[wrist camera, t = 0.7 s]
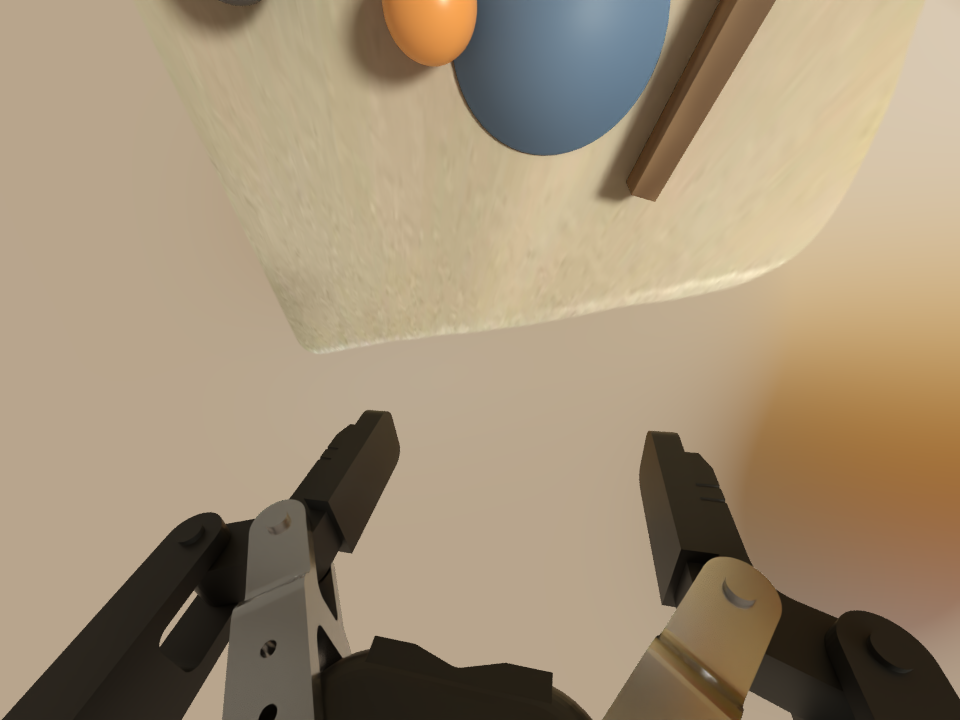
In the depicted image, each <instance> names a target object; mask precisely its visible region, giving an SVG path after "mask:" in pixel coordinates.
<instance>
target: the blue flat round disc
mask: <svg viewBox="0 0 960 720" xmlns="http://www.w3.org/2000/svg"><path fill="white" fill-rule="evenodd" d="M669 9H670V0H477V17H476V24H475V28H474V31H473V34H472V37H471V39H470V42H469V44H468V45H467V47H466V48H465V50H464V51H463V52H462V53H461V54H460V55H459V56H458V57H457V58H456V59H454V60H453V61H454V66H455V70H456V75H457V78H458V81H459V84H460V87H461V90H462V93H463V95H464V97H465V99H466V101H467V104H468V106H469V107H470V109H471V110H472V112H473V114H474V115H475V117H476V118H477V119H478V121H479V122H480V123H481V124H482V126H483V127H484V128H485V129H486V130H487V131H488V132H489V133H490V134H491V135H492V136H494V137H495V138H496V139H498V140H499V141H501V142H502V143H504V144H506V145H507V146H509V147H511V148H513V149H516V150H519V151H521V152H525V153H529V154H534V155H557V154H562V153H567V152H570V151H573V150H576V149H579V148H582V147H584V146H586V145H588V144H590V143H592V142H593V141H595V140H596V139H598V138H600V137H601V136H603V135H604V134H605V133H607V132H608V131H609V130H610V129H611V128H613V127H614V126H615V125H616V124H617V123H618V122H619V121H620V120H621V119H622V118H623V117H624V116H625V115H626V114H627V112H628V111H629V110H630V109H631V107H632V106H633V105H634V104H635V102H636V101H637V99H638V98H639V96H640V95H641V93H642V92H643V90H644V89H645V87H646V85H647V83H648V81H649V79H650V77H651V75H652V73H653V71H654V68H655V66H656V64H657V61H658V59H659V56H660V53H661V49H662V46H663V43H664V40H665V35H666V30H667V25H668V19H669Z"/></svg>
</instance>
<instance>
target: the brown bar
mask: <svg viewBox="0 0 960 720" xmlns="http://www.w3.org/2000/svg"><path fill="white" fill-rule="evenodd" d="M775 1H776V0H720V2H719V4H718V6H717V8H716V10H715V12H714V14H713V16H712V18H711V20H710V22H709V24H708V25H707V27H706V29H705V31H704V33H703V35H702V37H701V39H700V41H699V43H698V45H697V47H696V49H695V50H694V52H693V54H692V56H691V58H690V60H689V62H688V64H687V66H686V68H685V70H684V72H683V74H682V76H681V77H680V79H679V81H678V83H677V85H676V87H675V89H674V91H673V93H672V95H671V97H670V99H669V101H668V102H667V104H666V106H665V108H664V110H663V112H662V114H661V116H660V118H659V120H658V122H657V124H656V126H655V127H654V129H653V131H652V133H651V135H650V137H649V139H648V141H647V143H646V145H645V147H644V149H643V151H642V152H641V154H640V156H639V158H638V160H637V162H636V164H635V166H634V168H633V170H632V172H631V174H630V176H629V177H628V179H627V181H626V182H627V185H628V187H629V190H630V192H631V195H634V196H637V197H640V198H644V199H647V200H651V201H654V202H655V201H656V199H657V198H658V196H659V194H660V193H661V191H662V189H663V188H664V186H665V184H666V183H667V181H668V179H669V178H670V176H671V174H672V173H673V171H674V169H675V168H676V166H677V164H678V163H679V161H680V159H681V158H682V156H683V154H684V153H685V151H686V149H687V148H688V146H689V144H690V143H691V141H692V139H693V138H694V136H695V134H696V133H697V131H698V129H699V128H700V126H701V124H702V123H703V121H704V119H705V118H706V116H707V114H708V113H709V111H710V109H711V107H712V106H713V104H714V102H715V101H716V99H717V97H718V96H719V94H720V92H721V91H722V89H723V87H724V86H725V84H726V82H727V81H728V79H729V77H730V76H731V74H732V72H733V71H734V69H735V67H736V66H737V64H738V62H739V61H740V59H741V57H742V56H743V54H744V52H745V51H746V49H747V47H748V46H749V44H750V42H751V41H752V39H753V37H754V36H755V34H756V32H757V31H758V29H759V27H760V26H761V24H762V22H763V21H764V19H765V17H766V16H767V14H768V12H769V11H770V9H771V7H772V6H773V4H774V2H775Z"/></svg>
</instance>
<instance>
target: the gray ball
mask: <svg viewBox="0 0 960 720" xmlns="http://www.w3.org/2000/svg"><path fill="white" fill-rule="evenodd" d="M219 1H222V2H224V3H227V4H231V5H235V6H247V5H252V4H255V3H257V2H259V1H261V0H219Z"/></svg>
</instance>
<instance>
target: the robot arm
mask: <svg viewBox="0 0 960 720" xmlns="http://www.w3.org/2000/svg"><path fill="white" fill-rule="evenodd" d="M399 454H400V445H399V441H398V437H397V434H396V430H395V426H394V423H393V419H392V415H391V413H389V412H386V411H373V410H367V411H365V412H364V413H363V414H362V415H361V417H360V418H359V420H358V421H357V423H356V424H355V425H353V424H350V425H349V426H347V427H346V428H345V429H343V430H342V431H341V432H339V433H338V434H337V435H336V436H335V438H334V439H333V440H332V442H331V443H330V444H329V446H328V449H326V450H325V451H324V453H323V454H322V456H321V457H320V460H318V461H317V462H316V463H315V465H314V466H313V468H312V469H311V470H310V472H309V473H308V474H307V476H306V477H305V479H304V480H303V481H302V483H301V484H300V485H299V487H298V488H297V490H296V491H295V492H294V493H293V495H292V496H291V497H290V499H289V500H282V501H279V502H277V503H274V504H272V505H271V506H269V507H267V508H266V509H265V510H263V511H262V512H261V513H260V514H259V515H258V516H257V517H256V519H252V520H246V521H241V522H234V523H229V524H225V523H224V521H223V520H222V518H221V517H220V516H219V515H218V514H216V513H211V512H210V513H202V514H198V515H196V516H193V517H191V518H189V519H187V520H186V521H184V522H182V523H181V524H179V525H178V526H177V527H176V528H175V529H173V530H172V531H171V532H170V533H169V535H168V536H167V537H166V538H165V539H164V540H163V541H162V542H161V543H160V545H159V546H158V547H157V548H156V549H155V550H154V551H153V552H152V553H151V555H150V556H149V557H148V558H147V559H146V560H145V561H144V562H143V563H142V565H141V566H140V567H139V568H138V569H137V570H136V571H135V572H134V574H133V575H132V576H131V577H130V578H129V579H128V580H127V581H126V582H125V584H124V585H123V586H122V587H121V588H120V589H119V590H118V591H117V592H116V593H115V595H114V596H113V597H112V598H111V599H110V600H109V601H108V603H106V605H105V606H104V607H103V608H102V609H101V610H100V611H99V612H98V613H97V615H96V616H95V617H94V618H93V619H92V620H91V621H90V622H89V623H88V625H87V626H86V627H85V628H84V629H83V630H82V631H81V632H80V633H79V635H78V636H77V637H76V638H75V639H74V640H73V641H72V642H71V643H70V645H69V646H68V647H67V648H66V649H65V650H64V651H63V652H62V654H61V655H60V656H59V657H58V658H57V659H56V660H55V661H54V662H53V664H52V665H51V666H50V667H49V668H48V669H47V670H46V671H45V672H44V673H43V675H42V676H41V677H40V678H39V679H38V680H37V681H36V682H35V683H34V685H33V686H32V687H31V688H30V689H29V690H28V691H27V692H26V693H25V695H24V696H23V697H22V698H21V699H20V700H19V701H18V702H17V703H16V705H15V706H14V707H13V708H12V709H11V710H10V711H9V712H8V713H7V715H6V716H5V717H4V718H3V719H2V720H182V718H183V716H184V715H185V713H186V711H187V710H188V708H189V706H190V705H191V703H192V701H193V700H194V698H195V696H196V695H197V693H198V692H199V690H200V688H201V687H202V685H203V683H204V682H205V680H206V678H207V676H208V675H209V673H210V671H211V670H212V668H213V667H214V665H215V663H216V662H217V660H218V658H219V657H220V655H221V653H222V652H223V650H224V648H225V647H226V645H227V643H228V642H229V648H228V659H227V671H226V682H225V694H224V705H223V717H222V720H592V719H591V718H590V716H589V715H588V714H587V713H586V712H585V710H583V709H582V708H581V707H580V706H579V705H578V704H577V703H576V702H575V701H574V700H572V699H571V698H570V697H569V696H567V695H566V694H565V693H563V692H562V691H560V690H558V689H556V688H555V687H553V686H552V677H553V673H551V672H546V671H542V670H537V669H532V668H527V667H523V666H518V665H513V664H508V663H501V664H491V665H482V666H473V667H464V668H457V667H454V666H451V665H450V664H448V663H446V662H445V661H443V660H441V659H440V658H438V657H436V656H435V655H433V654H431V653H429V652H428V651H426V650H424V649H423V648H421V647H420V646H418V645H416V644H413V643H408V642H403V641H398V640H394V639H388V638H384V637H379V636H375V637H374V640H373V643H372V645H371V648H370V649H368V650H364V651H360V652H356V653H354V654H351V650H350V647H349V643H348V640H347V638H346V634H345V631H344V627H343V621H342V614H341V608H340V600H339V594H338V587H337V581H336V574H335V567H334V563H333V560H334V558H335V556H336V554H337V552H338V551H340V552H346V553H352V552H353V550H354V548H355V546H356V544H357V542H358V540H359V538H360V536H361V534H362V532H363V530H364V528H365V526H366V524H367V522H368V520H369V518H370V516H371V514H372V512H373V510H374V508H375V506H376V504H377V502H378V500H379V498H380V496H381V494H382V492H383V490H384V488H385V486H386V484H387V482H388V480H389V478H390V476H391V474H392V472H393V470H394V468H395V466H396V464H397V462H398V458H399ZM639 481H640V490H641V496H642V501H643V506H644V512H645V517H646V522H647V528H648V533H649V538H650V544H651V549H652V555H653V560H654V565H655V571H656V576H657V581H658V586H659V592H660V597H661V603H662V605H666V606H672V607H676V611H675V612H674V614H673V615H672V617H671V619H670V620H669V622H668V623H667V625H666V627H665V628H664V630H663V631H662V633H661V634H660V635H659V636H657V637H656V638H655V639H654V640H653V641H652V643H651V645H650V646H649V647H648V649H647V650H646V652H645V653H644V655H643V657H642V658H641V660H640V661H639V663H638V664H637V666H636V668H635V669H634V671H633V672H632V674H631V675H630V677H629V679H628V680H627V682H626V683H625V685H624V687H623V688H622V690H621V691H620V693H619V694H618V696H617V698H616V699H615V701H614V702H613V704H612V705H611V707H610V708H609V710H608V712H607V713H606V715H605V716H604V718H603V720H741V718H742V715H743V711H744V710H743V704H744V701H745V698H746V696H747V693H748V691H751V692H753V693H755V694H757V695H758V696H760V697H762V698H764V699H766V700H768V701H770V702H771V703H774V704H775V705H777V706H779V707H781V708H783V709H785V710H787V711H788V712H790V713H791V714H792V717H793V720H960V699H959V697H958V695H957V694H956V692H955V691H954V689H953V687H952V686H951V684H950V683H949V681H948V679H947V678H946V676H945V674H944V673H943V671H942V669H941V668H940V666H939V665H938V663H937V662H936V660H935V659H934V657H933V656H932V655H931V654H930V652H929V651H928V650H927V649H926V648H925V647H924V646H923V645H922V644H921V643H920V642H919V641H918V640H917V639H916V638H914V637H913V636H912V635H911V634H910V633H908V632H907V631H906V630H904V629H903V628H901V627H900V626H898V625H897V624H895V623H893V622H891V621H890V620H888V619H885V618H884V617H881V616H879V615H876V614H873V613H870V612H866V611H849V612H846V613H844V614H843V615H841V616H840V617H839V618H836V617H833V616H831V615H829V614H826V613H824V612H821V611H819V610H817V609H814V608H812V607H809V606H807V605H805V604H802V603H800V602H797V601H795V600H793V599H791V598H789V597H787V596H786V595H784V594H782V593H780V592H779V591H777V590H776V589H775V587H774V586H773V585H772V583H771V582H770V581H769V580H768V579H767V578H766V577H765V576H764V575H763V574H762V573H761V572H760V571H759V570H757V569H755V568H754V567H753V565H752V564H751V562H750V560H749V557H748V555H747V553H746V550H745V548H744V545H743V543H742V540H741V538H740V535H739V533H738V530H737V528H736V525H735V523H734V520H733V518H732V515H731V513H730V510H729V508H728V505H727V504H726V503H725V498H724V496H723V493H722V491H721V489H720V488H719V483H718V481H717V478H716V476H715V473H714V471H713V469H712V467H711V466H710V465H709V464H708V463H707V462H706V461H705V460H704V459H703V458H702V457H701V455H700V454H699V453H690V452H684V449H683V446H682V443H681V440H680V437H679V435H678V434H677V433H673V432H659V431H648V433H647V436H646V440H645V445H644V451H643V455H642V460H641V465H640V474H639ZM193 591H195V592H196V593H197V594H198V595H197V597H196V598H195V599H194V601H193V602H192V603H191V605H190V606H189V607H188V609H187V610H186V612H185V613H184V614H183V616H182V617H181V618H180V620H179V621H178V623H177V624H176V625H175V627H174V628H173V630H172V631H171V632H170V634H169V635H168V636H167V638H166V639H165V641H164V642H163V644H162V645H161V646H160V647H159V642H160V639H161V636H162V634H163V632H164V630H165V629H166V627H167V626H168V624H169V623H170V622H171V620H172V619H173V618H174V616H175V615H176V614H177V612H178V611H179V610H180V608H181V607H182V605H183V604H184V603H185V601H186V600H187V598H188V597H189V596H190V595H191V593H192V592H193Z"/></svg>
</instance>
